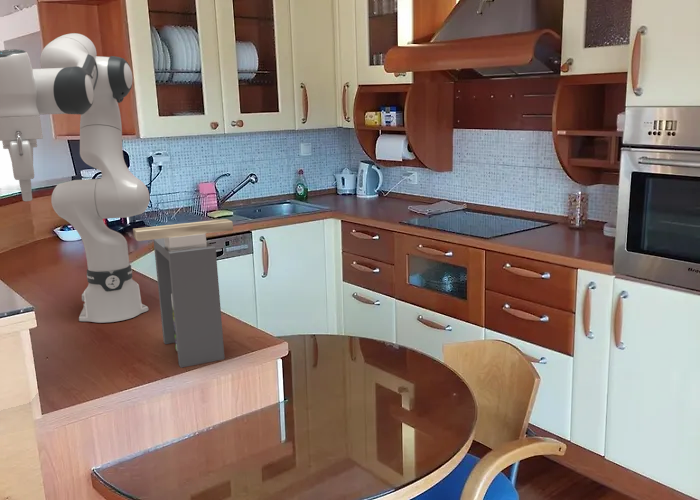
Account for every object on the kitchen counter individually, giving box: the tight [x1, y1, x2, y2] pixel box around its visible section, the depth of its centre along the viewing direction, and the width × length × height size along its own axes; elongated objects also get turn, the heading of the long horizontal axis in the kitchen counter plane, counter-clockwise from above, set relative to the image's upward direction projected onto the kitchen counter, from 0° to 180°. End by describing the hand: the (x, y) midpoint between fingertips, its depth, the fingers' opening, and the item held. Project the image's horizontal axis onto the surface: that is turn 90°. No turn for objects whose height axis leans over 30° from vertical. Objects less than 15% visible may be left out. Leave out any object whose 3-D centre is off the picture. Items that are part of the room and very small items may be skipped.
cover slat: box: [132, 218, 234, 242], centre depth 148 cm, size 5×21×2 cm, turn 116°
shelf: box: [153, 238, 226, 368], centre depth 156 cm, size 20×10×26 cm, turn 26°
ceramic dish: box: [164, 233, 207, 252], centre depth 149 cm, size 6×8×3 cm
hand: (27, 198), depth 139 cm, fingers open, 8 cm apart
